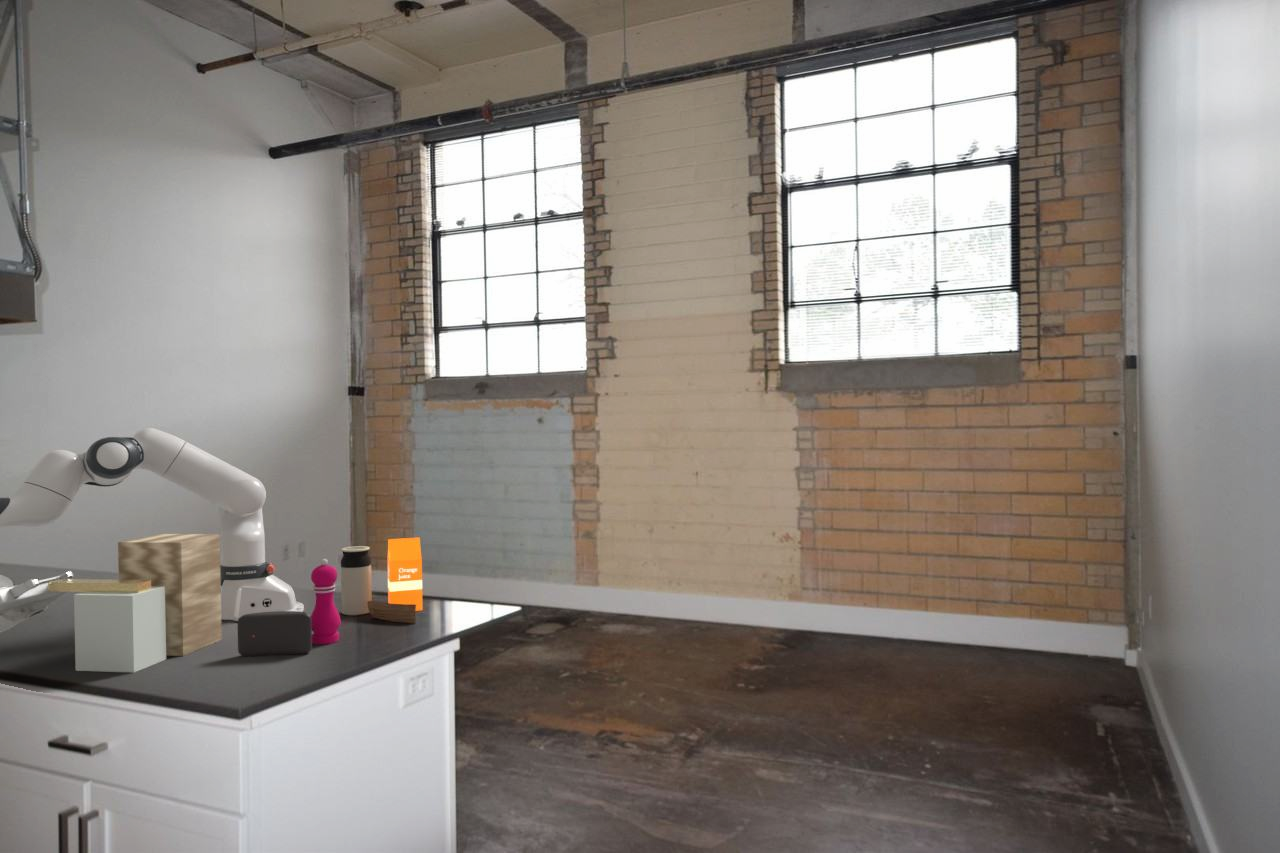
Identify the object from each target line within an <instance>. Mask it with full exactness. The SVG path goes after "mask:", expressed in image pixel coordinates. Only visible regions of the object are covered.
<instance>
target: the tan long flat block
mask: <svg viewBox="0 0 1280 853" xmlns="http://www.w3.org/2000/svg"><path fill="white" fill-rule="evenodd" d="M150 589H151V580H119V579H106V578H105V579H101V578H97V579H93V578H91V579H90V578H85V579H84V578H72V579H60V580H56V581H51V582H48V591H58V592H67V593H68V592H70V593H72V592H74V593H75V592H76V593H83V592H121V593H139V592H143V591H146V590H150Z"/></svg>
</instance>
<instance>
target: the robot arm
mask: <svg viewBox="0 0 1280 853" xmlns="http://www.w3.org/2000/svg"><path fill="white" fill-rule="evenodd" d="M137 469H140V470H141V469H142V470H145V471H150V472H152V473H154V474H156V475H157V476H159V477H162V478H163V479H165V480H167V481H169V482H171V483H173V484H175V485H177V486H179V487H181V488H182V489H185V490H187V491H188V492H190V493H193V494H195V495H196V496H199V497H201V498H202V499H204V500H206V501H208V502H210V503H211V504H214V505H215V506H217V507H218V513H219V529H220V530H219V531H220V578H221V620H223V621H235V622H238V619H239V618H240V617H241V616H243V615H246V614H252V613H261V612H275V611H297V612H304V611H305V606H304V603H303V602H299V601H297V600H296V595H295V594H296V593H295V592H294V588H292V586H291V585H290V584H288V583H287V582H285V581H283V580H282V579H280V578H279V577H277V576H276V575H274V571H275V566H274V565H273V564H272V562H267V561H266V544H265V541H266V539H265V536H266V535H265V533H266V532H265V527H264V514H263V506H264V504H265V502H266V498H267V491H266V488H265V485H264V483H262V481H261V480H260V479H258V478H257V477H255V476H253V475H251V474H249V473H247V472H246V471H243V470H242V469H240V468H237V467H236V466H233V465H232V464H230V463H228V462H227V461H224V460H222V459H221V458H218V457H217V456H214V455H213V454H211V453H209V452H207V451H205V450H204V449H202V448H200V447H198V446H196V445H193V444H192V443H189V441H186V440H184V439H182V438H180V437H178V436H176V435H174V434H172V433H168V432H166V431H163V430H161V429H160V430H159V429H157V428H154V427H145V428H142V429H141V430H139V431H137V432H136V433H135V434H134V435H133V436H131V437H129V436H128V437H127V436H125V437H123V436H109V437H108V436H107V437H102V438H99V439H98V440H96V441H95V442H93V443H92V444H91V445H90V446H89V447H88V449H87V450H86V451H85V452H83V453H75V452H73V451H70V450H66V449H54V450H51V451H49V452H47V453H46V454H45V455H44V456H43V457H42V458H41V459H40V461H38V463H36V464H35V466H34V467H33V468H32V470H31V471H30V472H29V474H28V475H27V476H26V478H25V479H24V481H23V482H22V484H21V485H20V487H19V488H18V489H17V490H16V491H14V492H13V493H12V494H10V495H8V496H6V497H0V530H1V529H4V528H7V527H28V528H35V527H36V528H37V527H39V528H40V527H44V526H48V525H52V524H54V523H55V522H57V521H58V520H60V519H61V518H62V517H63V515H64V514H65V513H66V511H67V510H68V508H69V507H70V504H71V503H72V502H73V501H74V500H73V499H74V498H75V496H76V495H77V493H78V491H80V489H81V488H82V486H83V485H88V486H96V487H97V486H98V487H113V486H116V485H119V484H121V483H122V482H123V481H124V480H126V479H127V478H128V477H129V476H130V475H131V473H132V471H133V470H137ZM60 579H74V574H73V572H72V570H66V571H63V573H60V574H59V575H56V576H53V577H47V578H44V579H43V578H42V579H38V578H31V579H28V580H26V581H25V582H23V583H20V584H17V585H15V582H14V580H12V578H10V577H7V576H5V575H3V574H0V633H3V632H7V631H8V630H10V629H11V628H13V627H15V626H17V625H18V624H20V623H22V622H24V621H25V620H27V619H28V618H30V617H33V616H35V615H38V614H40V613H42V612H45V610H47V609H48V608H49V607H48V606H49V605H51V604H53V603H54V602H56V601H58V600H59V599H60V598H62V597H63V596H64V595H66V594H67V593H68V592H58V591H48V582H51V581H56V580H60Z"/></svg>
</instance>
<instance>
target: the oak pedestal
mask: <svg viewBox="0 0 1280 853" xmlns="http://www.w3.org/2000/svg"><path fill="white" fill-rule="evenodd" d="M117 552H118V553H117V555H118V556H117V558H118V580H151V586H163V587H165V617H166V656H174V657H177V656H178V657H179V656H180V657H184V656H186V655H189V654H192V653H193V652H196V651H199V650H201V649H204V648H206V647H208V646H210V645H213V644H215V642H216V643H217V642H220V641H222V640H223V639H222V638H223V637H222V636H223V634H222V633H223V632H222V619H221V578H220V565H221V533H220V534H219V533H213V534H212V533H159V534H153V535H148V536H143V537H138V538H132V539H127V540H123V541H118V542H117Z"/></svg>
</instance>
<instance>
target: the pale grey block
mask: <svg viewBox="0 0 1280 853" xmlns="http://www.w3.org/2000/svg"><path fill="white" fill-rule="evenodd" d="M73 609H74V610H73V612H74V653H75V654H74V655H75V656H74V657H75V658H74V660H75V671H76V672H102V673H103V672H106V673H137V672H138V671H141V670H144V669H146V668H149V667H151V666H154V665H156V664H159V663H160V662H161V663H162V662H163V661H166V660H167V655H166V617H165V587H163V586H151V589H150V590H146V591H143V592H139V593H121V592H78V593H75V594H73Z"/></svg>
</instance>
